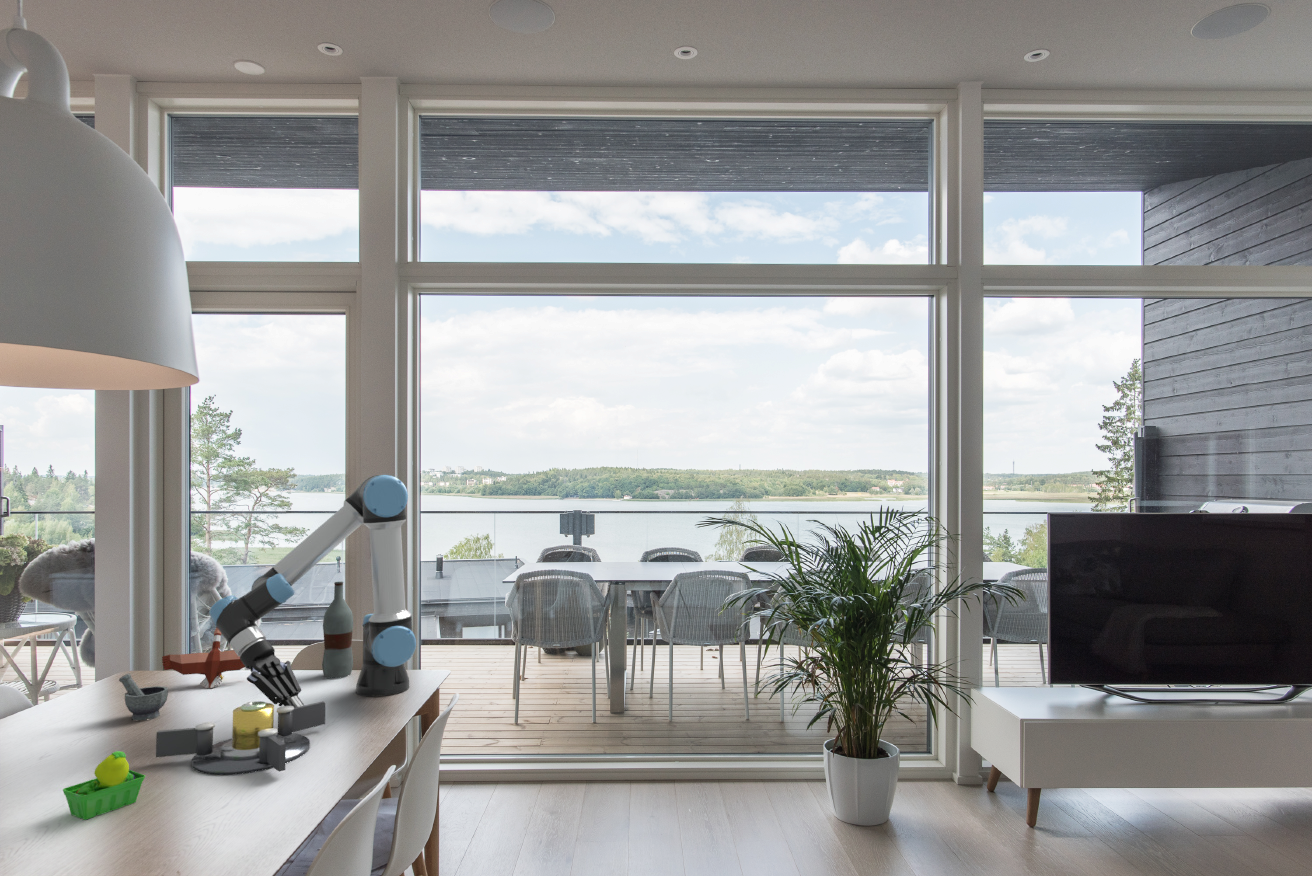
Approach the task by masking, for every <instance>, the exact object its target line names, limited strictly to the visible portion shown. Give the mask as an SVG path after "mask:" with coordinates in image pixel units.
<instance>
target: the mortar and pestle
mask: <svg viewBox="0 0 1312 876" xmlns="http://www.w3.org/2000/svg"><path fill="white" fill-rule="evenodd" d="M118 681H119V682H120V683H121V684H122V686H123V687H124V688H125V690H126V692H125V693H124V702H125V706H126V708H127V710H128V711H129V712H130V713H132V717H131V719H133V720H138V721H137V722H140V721H139V720H144V721H148V720H147V719H150V720H155V719H156V718H159V717H160V710H161V709H162V707H164V706H165V704H166V702H167V700H168V695H169V688H168V687H167V686H148V687H139V686H138V684H137V683H136V682H135V680H133V678H132V674H130V673H126V674H124V675H122V676H121V677H120V678H119V679H118ZM133 720H132V721H133Z"/></svg>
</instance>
